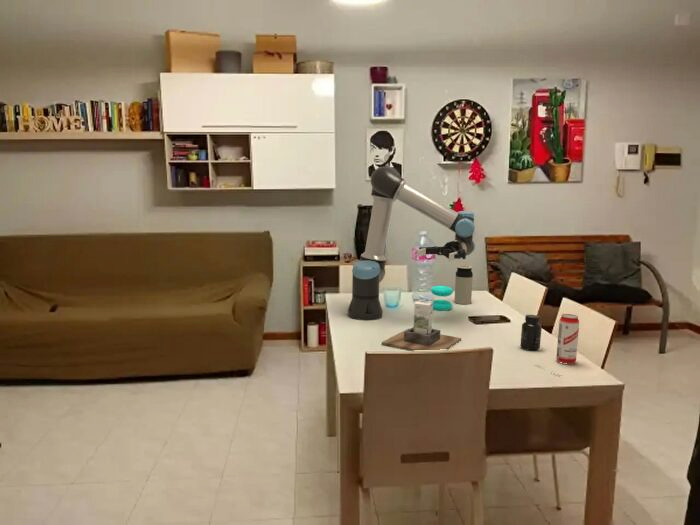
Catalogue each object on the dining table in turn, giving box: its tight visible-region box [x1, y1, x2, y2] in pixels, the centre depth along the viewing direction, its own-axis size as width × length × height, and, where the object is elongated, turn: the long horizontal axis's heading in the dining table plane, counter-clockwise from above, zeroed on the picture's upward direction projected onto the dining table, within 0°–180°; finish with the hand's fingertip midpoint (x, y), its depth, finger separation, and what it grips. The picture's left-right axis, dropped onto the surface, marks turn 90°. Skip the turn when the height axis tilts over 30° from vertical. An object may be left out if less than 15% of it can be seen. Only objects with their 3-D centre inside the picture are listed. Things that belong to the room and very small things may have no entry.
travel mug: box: [454, 264, 474, 305], centre depth 269 cm, size 8×8×18 cm
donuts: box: [430, 285, 454, 311], centre depth 258 cm, size 10×10×10 cm
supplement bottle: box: [520, 314, 542, 352], centre depth 201 cm, size 7×7×12 cm
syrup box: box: [413, 299, 434, 335], centre depth 205 cm, size 6×6×14 cm
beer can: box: [555, 313, 580, 365], centre depth 187 cm, size 6×6×16 cm
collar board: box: [381, 326, 462, 351], centre depth 206 cm, size 22×22×4 cm
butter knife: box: [533, 364, 563, 378], centre depth 185 cm, size 1×24×3 cm
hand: (433, 255), depth 218 cm, fingers open, 13 cm apart
